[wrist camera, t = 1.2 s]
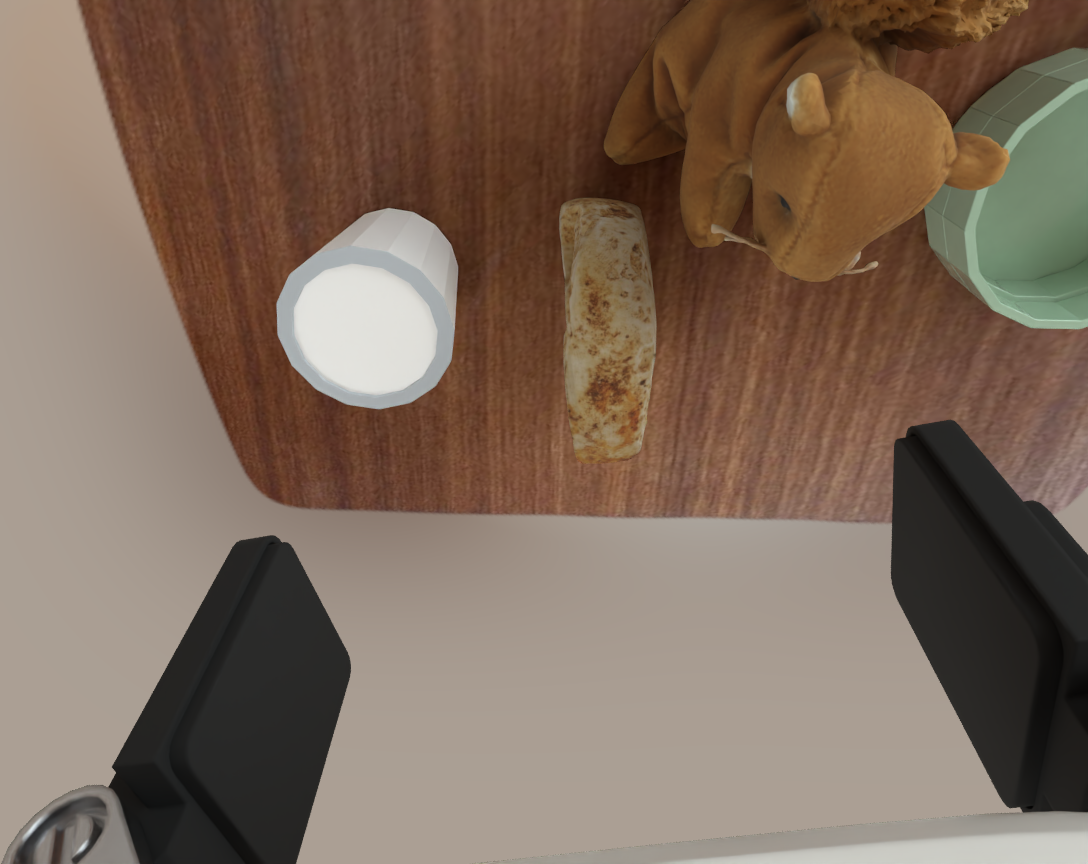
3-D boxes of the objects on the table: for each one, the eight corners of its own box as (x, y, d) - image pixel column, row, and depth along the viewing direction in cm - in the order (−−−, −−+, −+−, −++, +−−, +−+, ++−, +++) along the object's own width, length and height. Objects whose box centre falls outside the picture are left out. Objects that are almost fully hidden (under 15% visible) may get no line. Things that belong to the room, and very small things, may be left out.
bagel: (639, 383, 38) (662, 507, 30) (565, 385, 38) (567, 509, 30) (644, 170, 32) (675, 248, 24) (558, 173, 33) (558, 252, 24)
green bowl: (872, 236, 34) (912, 272, 30) (1032, 0, 29) (1105, 7, 25) (1048, 319, 36) (1105, 363, 32) (1226, 112, 31) (1320, 135, 27)
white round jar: (309, 309, 36) (261, 379, 30) (339, 170, 33) (291, 219, 27) (447, 355, 37) (427, 431, 31) (491, 225, 34) (477, 284, 28)
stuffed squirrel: (589, 161, 32) (607, 272, 21) (767, -244, 25) (933, -395, 14) (790, 250, 34) (903, 395, 23) (1007, -101, 27) (1319, -136, 16)
